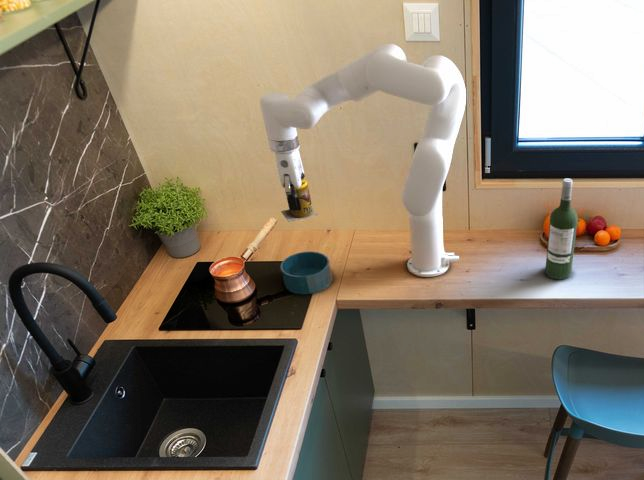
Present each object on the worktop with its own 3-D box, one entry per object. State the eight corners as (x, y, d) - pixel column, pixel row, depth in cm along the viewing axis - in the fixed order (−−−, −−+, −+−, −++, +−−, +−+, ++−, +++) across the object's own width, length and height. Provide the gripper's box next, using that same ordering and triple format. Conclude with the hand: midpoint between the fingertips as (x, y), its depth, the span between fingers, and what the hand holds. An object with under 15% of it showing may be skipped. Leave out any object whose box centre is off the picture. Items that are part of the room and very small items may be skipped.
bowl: (334, 267, 180) (331, 250, 176) (330, 293, 170) (326, 275, 166) (288, 269, 179) (284, 252, 175) (281, 295, 168) (277, 277, 165)
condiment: (318, 215, 172) (310, 176, 164) (288, 222, 168) (279, 183, 160) (309, 205, 176) (301, 166, 169) (281, 212, 173) (271, 173, 165)
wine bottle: (545, 279, 178) (553, 186, 159) (544, 265, 185) (552, 173, 166) (571, 280, 178) (583, 187, 159) (570, 266, 184) (581, 174, 166)
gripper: (293, 155, 153) (306, 218, 164) (303, 130, 166) (314, 190, 178) (263, 156, 152) (278, 219, 164) (275, 131, 165) (288, 191, 177)
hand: (297, 203), depth 170 cm, fingers closed on condiment, 6 cm apart
